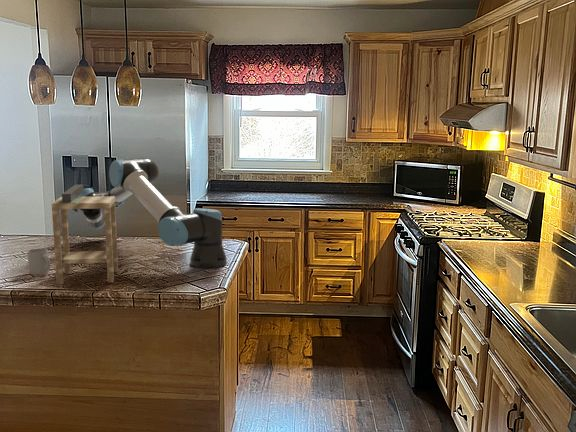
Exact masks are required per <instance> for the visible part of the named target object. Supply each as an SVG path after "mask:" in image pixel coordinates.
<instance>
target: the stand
mask: <svg viewBox="0 0 576 432" xmlns="http://www.w3.org/2000/svg"><path fill="white" fill-rule="evenodd" d="M98 208H104V210H103V211H104V213H103V216H104V218H105V225H104V230H105V250H89V251H87V250H86V251H83V250H82V251H81V250H79V251H71V250H70V249H71V248H70V237H69V236H70V234H69V233H70V231H69V218H68V216H69V214H68V210H73V209H98ZM116 213H117V212H116V206H115V196H96V197H83V196H78V197H77V198H76V199H74V200H73V201H72V202H62V196H60V197H59V198H57V199H56V200H54V202H52V203H51V217H52V229H53V230H52V231H53V245H54V247H53V248H54V262H55V263H54V264H55V276H56V277H55V278H56V285H63V284H64V282H65V280H64V274H65V275H67V274H68V275H69V274H71V273H72V265H71V264H89V263H90V264H95V263H106V272H107V273H106V274H107V276H106V277H107V283H114V282H115V275H114V273H117V272H119V259H118V257H119V256H118V238H117V234H118V233H117V214H116ZM60 219H61V220H60ZM62 251H63V252H62Z"/></svg>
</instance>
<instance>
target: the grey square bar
mask: <svg viewBox="0 0 576 432" xmlns="http://www.w3.org/2000/svg"><path fill="white" fill-rule="evenodd" d="M83 189H84V184H74V185H73V186H71V187H70V188H68V189H67V190H66V191H64V192H63V193H62V194H61V197H62V202H72V201H73V200H74V199H76V198H77V197H78V196H79V195H80V194H82V193H83V192H84V191H83Z"/></svg>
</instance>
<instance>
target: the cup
mask: <svg viewBox="0 0 576 432" xmlns="http://www.w3.org/2000/svg"><path fill="white" fill-rule="evenodd" d="M48 253H49V252H48V249H47V248H32V249H28V250H27V262H28V265H27V266H28V273H29V275H31V276H40V275H46V274H48V273H49V271H50V269H51V258H50V257H49V255H48Z"/></svg>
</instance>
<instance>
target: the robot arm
mask: <svg viewBox="0 0 576 432" xmlns="http://www.w3.org/2000/svg"><path fill="white" fill-rule="evenodd" d="M108 172H109V173H108V175H109V181H110V184H111V186H112V187H114V188H111V189H110V190H108V191H98V192H95V191H94V189H93V188H90V187H87V188H83V191H84V192H83V193H82V194H80V195H79V196H83V197H96V196H115V207H117V206H122V205H124V204H125V203H126V199H127V198H130V196H134V197H135V198H137V200H138V201H139V202H140V203H141V204H142V206H144V208H145V209H146V210H147V211H148V212H149V213H150V214H151V215H152V216H153V218H154V219H155V220H156V221H157V225H158V226H157V232H158V234H159V237H160V239H161V241H162V242H163V243H164V244H166V245H167V246H169V247H177V246H178V247H181V246H183V245H187V244H192V243H193V249H192V252H191V255H190V258H189V263H190V265H191V266H193V267H195V268H202V269H205V268H206V269H209V268H210V269H212V268H218V267H223V266H226V265H227V261H228V260H227V256H226V252H225V250H224V249H225V248H224V247H223V216H222V212H221V210H217V209H212V208H200V207H197V208H196V207H195V208H193V211H192V213H186V212H185V211H184V210H183V209H182V208H180V207H178V206H174V205H173V204H172V203H171V202H170V201H169V200H168V199H167V198H166V197H165V196H164V195H163V194H162V193H161V192H160V191H159V190H158V189H157V188H156V187H155V186H154V185H153V184H154V183H155V182H156V181H157V180H158V178H159V175H160V170H159V167H158V165H157V163H155V161H153V160H152V159H150V158H146V157H143V158H128V159H127V158H125V159H122V158H121V159H116V160H113V161H112V162H111V163H110V166H109V171H108ZM72 211H74V212H75V213H76V212H77V213H78V212H79V211H82V213H83V215H84V217H85V219H86V220H87V223H88V226H89V227H90V228H91V229H94V230H100V229H102V228H103V227H105V215H104V213H103V212H102V211H104V208H98V209H72Z"/></svg>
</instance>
